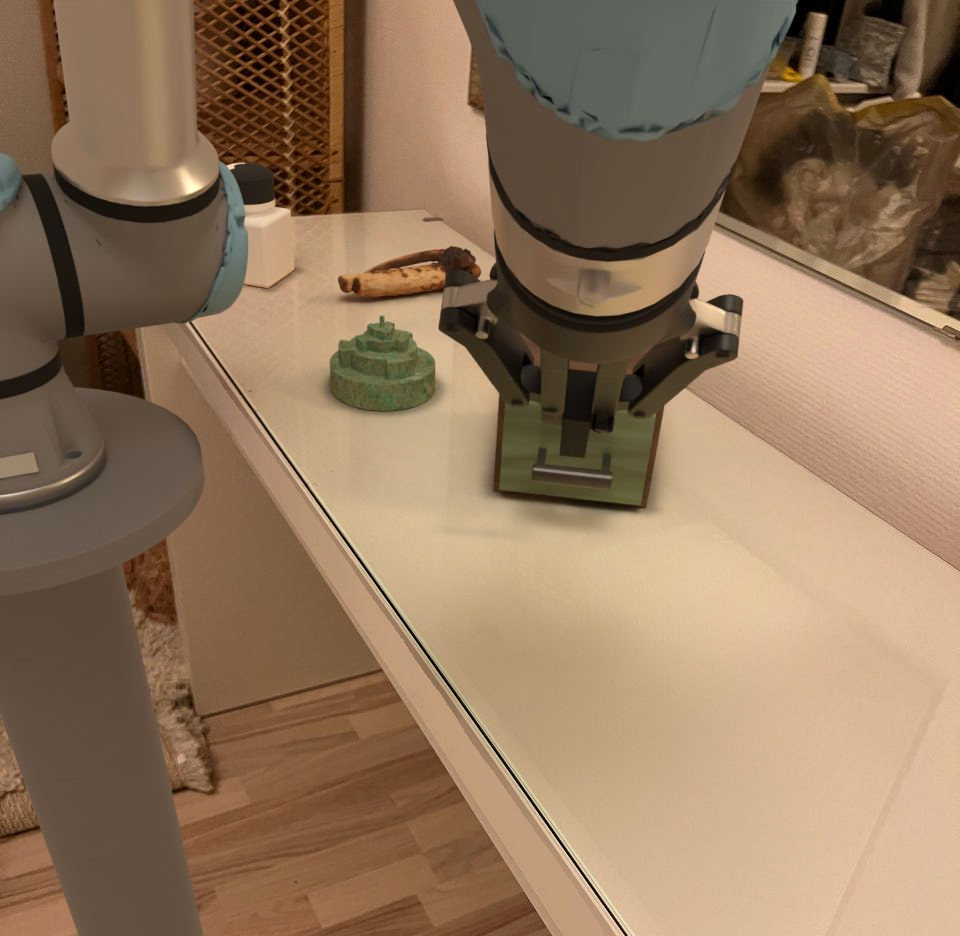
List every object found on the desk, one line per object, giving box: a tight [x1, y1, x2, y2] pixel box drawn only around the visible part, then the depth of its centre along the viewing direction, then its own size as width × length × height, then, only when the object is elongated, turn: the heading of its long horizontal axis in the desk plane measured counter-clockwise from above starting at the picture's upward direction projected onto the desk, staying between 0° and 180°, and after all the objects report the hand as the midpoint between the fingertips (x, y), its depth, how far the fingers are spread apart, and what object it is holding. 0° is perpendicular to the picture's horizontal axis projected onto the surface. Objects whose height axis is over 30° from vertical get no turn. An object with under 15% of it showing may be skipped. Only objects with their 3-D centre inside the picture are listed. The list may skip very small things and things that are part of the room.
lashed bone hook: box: [337, 245, 482, 298], centre depth 115 cm, size 9×5×18 cm
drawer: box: [499, 400, 656, 505], centre depth 80 cm, size 18×11×8 cm, turn 172°
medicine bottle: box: [226, 162, 296, 289], centre depth 114 cm, size 7×7×12 cm
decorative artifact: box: [329, 315, 436, 412], centre depth 93 cm, size 10×7×10 cm
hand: (574, 434), depth 58 cm, fingers closed
